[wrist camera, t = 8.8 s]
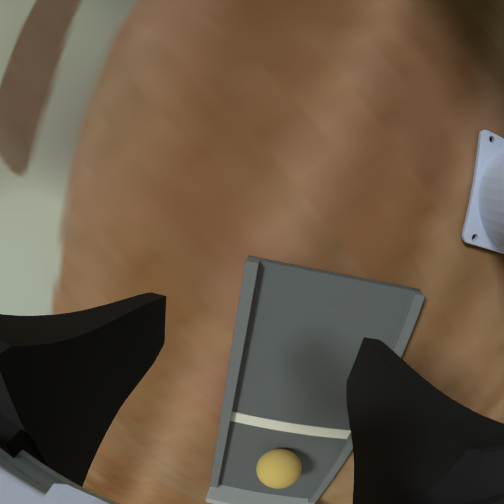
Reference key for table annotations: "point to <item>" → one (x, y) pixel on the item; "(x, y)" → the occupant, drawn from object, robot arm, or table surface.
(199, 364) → the table surface
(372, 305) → the lane mat
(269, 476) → the ball
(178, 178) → the table surface
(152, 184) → the table surface
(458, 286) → the table surface
